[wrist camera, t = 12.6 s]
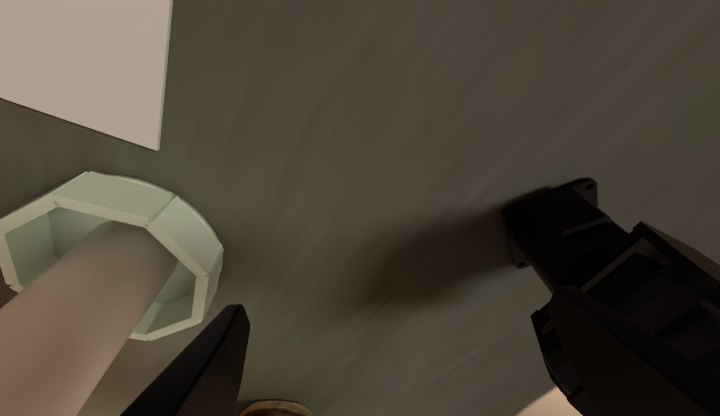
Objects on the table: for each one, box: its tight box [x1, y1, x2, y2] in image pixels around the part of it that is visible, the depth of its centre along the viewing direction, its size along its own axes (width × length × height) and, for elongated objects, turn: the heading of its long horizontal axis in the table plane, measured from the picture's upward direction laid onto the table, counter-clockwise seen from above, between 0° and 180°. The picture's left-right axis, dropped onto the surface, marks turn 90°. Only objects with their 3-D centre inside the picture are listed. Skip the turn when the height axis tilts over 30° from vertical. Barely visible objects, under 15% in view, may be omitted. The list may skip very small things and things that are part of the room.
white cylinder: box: [0, 220, 178, 416], centre depth 18 cm, size 6×6×12 cm
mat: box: [0, 0, 173, 151], centre depth 16 cm, size 10×10×1 cm
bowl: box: [0, 171, 224, 341], centre depth 22 cm, size 13×13×4 cm
